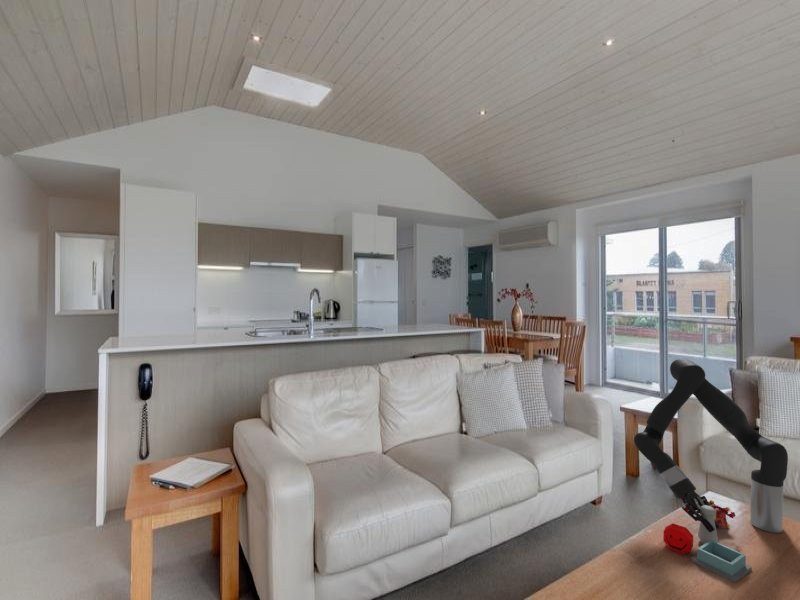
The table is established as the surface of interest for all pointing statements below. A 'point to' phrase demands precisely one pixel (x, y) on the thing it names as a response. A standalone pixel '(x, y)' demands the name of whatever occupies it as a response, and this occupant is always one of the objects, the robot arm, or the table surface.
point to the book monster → (721, 515)
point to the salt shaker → (703, 532)
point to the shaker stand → (722, 560)
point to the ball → (678, 538)
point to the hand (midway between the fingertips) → (714, 529)
